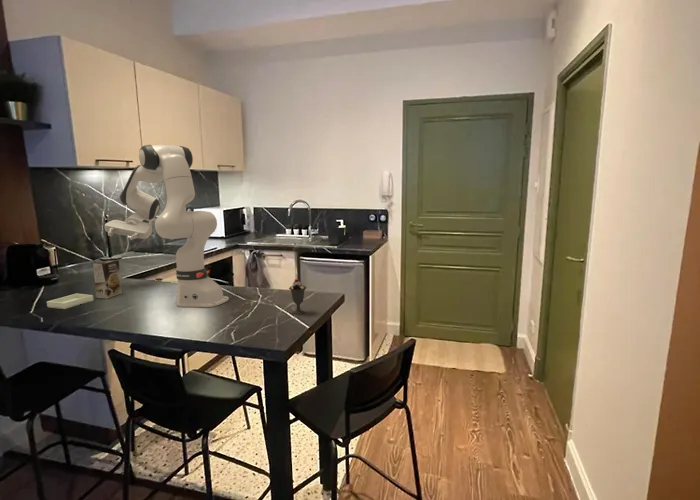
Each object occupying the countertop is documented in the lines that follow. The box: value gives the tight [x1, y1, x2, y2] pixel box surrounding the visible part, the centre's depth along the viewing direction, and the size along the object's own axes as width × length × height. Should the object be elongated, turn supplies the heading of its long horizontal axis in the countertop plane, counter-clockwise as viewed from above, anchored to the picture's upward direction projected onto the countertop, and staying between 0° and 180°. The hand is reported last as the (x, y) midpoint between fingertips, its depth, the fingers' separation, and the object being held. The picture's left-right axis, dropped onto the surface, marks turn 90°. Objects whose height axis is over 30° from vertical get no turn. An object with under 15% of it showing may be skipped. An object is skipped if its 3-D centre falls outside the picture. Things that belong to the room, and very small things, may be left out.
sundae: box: [288, 274, 307, 316], centre depth 161 cm, size 7×7×15 cm
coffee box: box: [92, 259, 123, 299], centre depth 190 cm, size 9×6×16 cm
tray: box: [46, 293, 94, 310], centre depth 179 cm, size 10×13×2 cm
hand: (119, 236), depth 193 cm, fingers open, 8 cm apart
